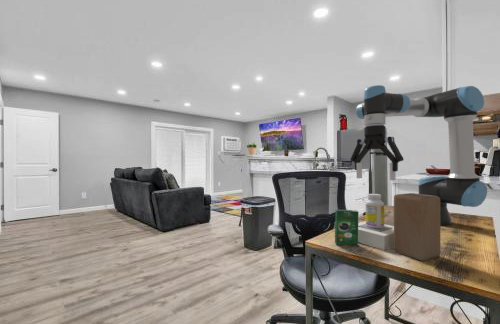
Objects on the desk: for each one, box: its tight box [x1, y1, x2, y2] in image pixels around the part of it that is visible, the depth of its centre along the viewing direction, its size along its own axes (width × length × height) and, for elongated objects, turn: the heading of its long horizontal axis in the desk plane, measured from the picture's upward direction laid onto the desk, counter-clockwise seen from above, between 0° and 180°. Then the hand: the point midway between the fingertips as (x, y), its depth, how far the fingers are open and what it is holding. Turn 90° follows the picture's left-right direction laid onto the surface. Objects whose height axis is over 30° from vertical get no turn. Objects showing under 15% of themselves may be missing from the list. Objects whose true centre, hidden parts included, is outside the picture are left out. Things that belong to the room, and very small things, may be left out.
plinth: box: [358, 220, 394, 251], centre depth 97 cm, size 16×16×5 cm
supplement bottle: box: [365, 193, 385, 228], centre depth 97 cm, size 7×7×13 cm
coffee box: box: [334, 209, 360, 247], centre depth 92 cm, size 8×3×13 cm, turn 82°
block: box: [393, 192, 441, 262], centre depth 82 cm, size 10×10×20 cm
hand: (375, 179), depth 97 cm, fingers open, 13 cm apart
